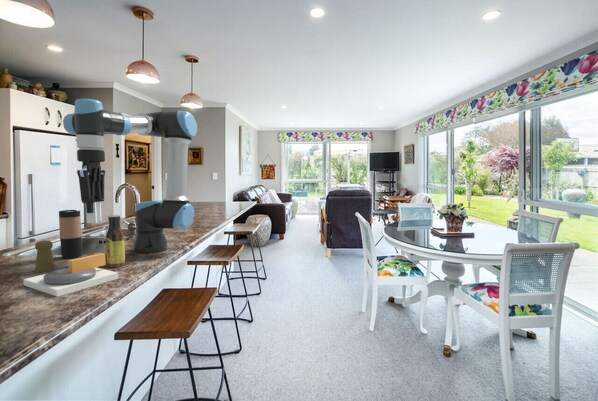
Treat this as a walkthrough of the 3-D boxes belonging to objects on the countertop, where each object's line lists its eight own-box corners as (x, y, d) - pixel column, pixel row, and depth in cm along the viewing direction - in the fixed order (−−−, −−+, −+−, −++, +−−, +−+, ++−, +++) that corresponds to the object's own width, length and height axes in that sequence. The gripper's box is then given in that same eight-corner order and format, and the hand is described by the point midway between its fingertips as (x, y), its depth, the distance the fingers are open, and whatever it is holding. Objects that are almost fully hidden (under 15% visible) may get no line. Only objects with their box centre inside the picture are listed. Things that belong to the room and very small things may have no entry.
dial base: (85, 269, 123) (84, 264, 122) (118, 278, 113) (118, 272, 113) (23, 285, 106) (23, 278, 106) (57, 296, 97) (56, 289, 96)
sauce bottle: (108, 264, 130) (106, 214, 128) (126, 262, 132) (124, 214, 131) (105, 268, 124) (103, 217, 122) (124, 267, 126) (122, 216, 125)
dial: (58, 287, 98) (57, 269, 97) (34, 279, 104) (33, 263, 104) (116, 271, 114) (115, 255, 113) (92, 265, 120) (91, 251, 120)
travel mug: (59, 259, 136) (56, 212, 134) (63, 255, 143) (61, 210, 141) (80, 258, 139) (78, 211, 137) (84, 253, 146) (82, 209, 144)
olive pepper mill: (44, 272, 119) (42, 243, 118) (30, 271, 120) (28, 242, 119) (59, 267, 125) (57, 239, 124) (46, 266, 126) (44, 238, 125)
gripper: (90, 150, 112) (94, 218, 114) (63, 147, 96) (68, 226, 98) (114, 151, 113) (116, 218, 115) (91, 147, 97) (94, 226, 99)
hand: (94, 222), depth 107 cm, fingers open, 3 cm apart
